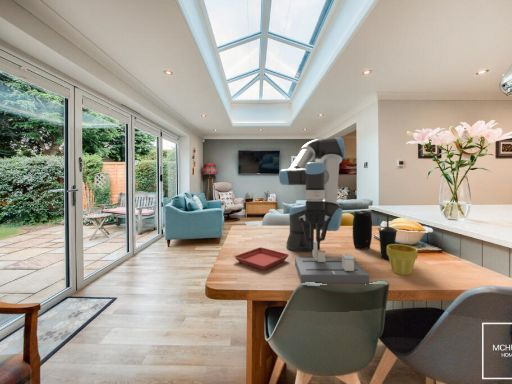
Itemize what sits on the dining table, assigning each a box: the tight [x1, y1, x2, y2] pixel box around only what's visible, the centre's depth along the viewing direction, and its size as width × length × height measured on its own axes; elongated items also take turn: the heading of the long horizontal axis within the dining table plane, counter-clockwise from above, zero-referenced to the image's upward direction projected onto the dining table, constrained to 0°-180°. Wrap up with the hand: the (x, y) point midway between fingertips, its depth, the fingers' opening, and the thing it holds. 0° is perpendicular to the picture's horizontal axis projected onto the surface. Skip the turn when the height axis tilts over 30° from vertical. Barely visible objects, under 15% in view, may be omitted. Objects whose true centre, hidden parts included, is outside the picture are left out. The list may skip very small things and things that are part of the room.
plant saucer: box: [234, 246, 289, 271], centre depth 106 cm, size 18×18×3 cm
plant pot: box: [387, 243, 419, 276], centre depth 93 cm, size 10×10×10 cm
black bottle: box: [378, 215, 398, 261], centre depth 108 cm, size 8×8×20 cm
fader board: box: [294, 257, 370, 284], centre depth 93 cm, size 24×18×3 cm
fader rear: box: [316, 247, 326, 262], centre depth 97 cm, size 3×4×4 cm
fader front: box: [341, 254, 355, 271], centre depth 88 cm, size 3×4×5 cm
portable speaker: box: [352, 210, 373, 250], centre depth 125 cm, size 9×9×20 cm
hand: (314, 256), depth 97 cm, fingers closed
